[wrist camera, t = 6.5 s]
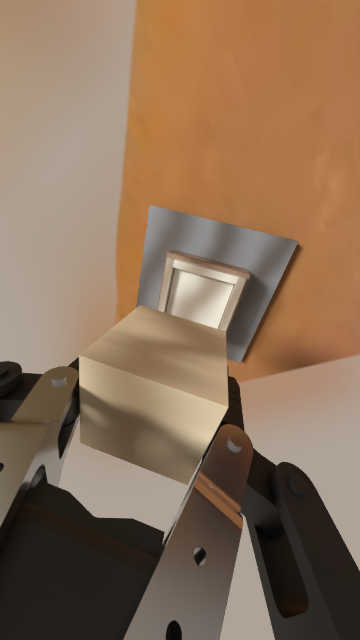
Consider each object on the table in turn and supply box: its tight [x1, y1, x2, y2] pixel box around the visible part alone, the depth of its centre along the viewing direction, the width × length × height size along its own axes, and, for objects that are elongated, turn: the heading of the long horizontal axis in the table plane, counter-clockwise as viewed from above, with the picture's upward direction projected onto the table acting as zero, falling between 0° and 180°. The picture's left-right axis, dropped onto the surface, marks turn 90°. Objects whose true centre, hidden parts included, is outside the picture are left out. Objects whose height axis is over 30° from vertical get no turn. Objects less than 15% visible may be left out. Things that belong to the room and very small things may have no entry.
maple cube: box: [79, 305, 229, 485], centre depth 9 cm, size 5×5×5 cm
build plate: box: [137, 205, 298, 363], centre depth 24 cm, size 18×18×6 cm
